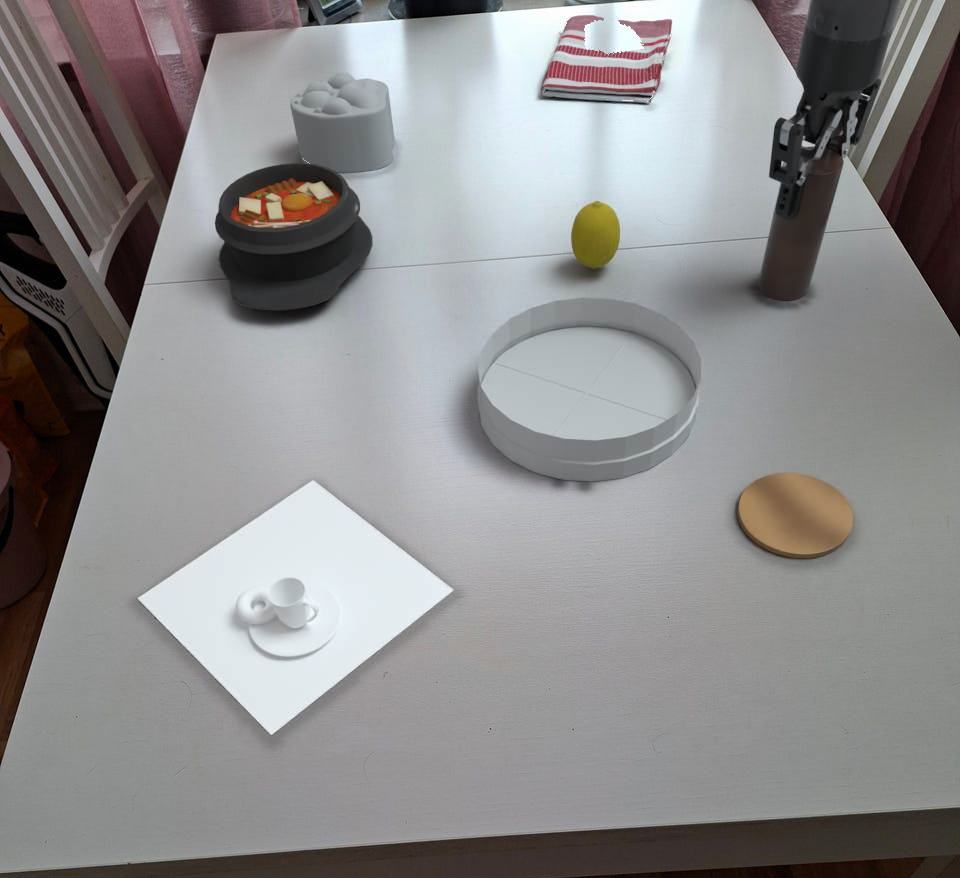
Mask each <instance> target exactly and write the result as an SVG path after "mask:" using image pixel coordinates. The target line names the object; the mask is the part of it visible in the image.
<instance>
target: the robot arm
mask: <svg viewBox="0 0 960 878" xmlns="http://www.w3.org/2000/svg"><path fill="white" fill-rule="evenodd" d="M901 2H902V0H809V5H808V9H807V13H806V17H805V23H804V28H803V32H802V36H801V41H800V46H799V51H798V56H797V60H796V65H795V75H796V78H797V79H798V80H799V82H800V84H801V85H802V89H803V92H802V93H801V97H800V100H799V102H798V104H797V106H796V110H795V114H794V115H792V116H791V117H790V118H789V119H787V118H784V117H782V116H781V117H779V118H777V120H776V122H775V124H774V128H773V135H772V144H771V145H772V146H771V153H770V161H769V162H770V163H769V171H768V178H770V179H772V180H774V181H776V182H778V183H780V182H781V187H780V186H779V187H780V191H779V190H778V191H779V196H778V195H777V196H778V200H777V199H776V200H777V205H776V204H775V205H776V210H775V211H776V214H777V215H778V216H781V217H783V218H785V219H787V220H792V219H793V218H795V217H796V216H797V214H798V210H799V206H800V202H801V198H802V194H803V190H804V186H805V183H804V182H805V180H806V178H807V176H808V173H809V171H810V169H811V167H812V164H813V162H815V161H818V160H819V159H820V158H821V155H822V153H823V151H824V149H825V148H827V149H830V150H833V151H835V152H836V153H838V154H839V155H840V156H841V157H842V158H843V159H845V158H846V157H847V156H848V154H849V152H850V149H851V146H855V147H856V146H857V145H859V143H860V141H861V140H862V137H863V134H864V132H865V128H866V126H867V123H868V120H869V117H870V116H871V113H872V109H873V107H874V104H875V101H876V99H877V96H878V93H879V90H880V87H881V85H882V79H881V78H879V77H880V75H881V71H882V67H883V64H884V60H885V57H886V53H887V51H888V47H889V43H890V40H891V36H892V34H893V33H892V32H893V30H894V26H895V23H896V19H897V16H898V12H899V8H900V5H901ZM856 119H857V121H856ZM804 141H805V142H807V143H809V144H812V145H813V147H814V148H812V149H809V148H806V147H807V146H804V145H803V142H804ZM800 156H802V157H803V158H804V161H803V163H802V165H801V168H800V170H798V168H799V161H800Z"/></svg>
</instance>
